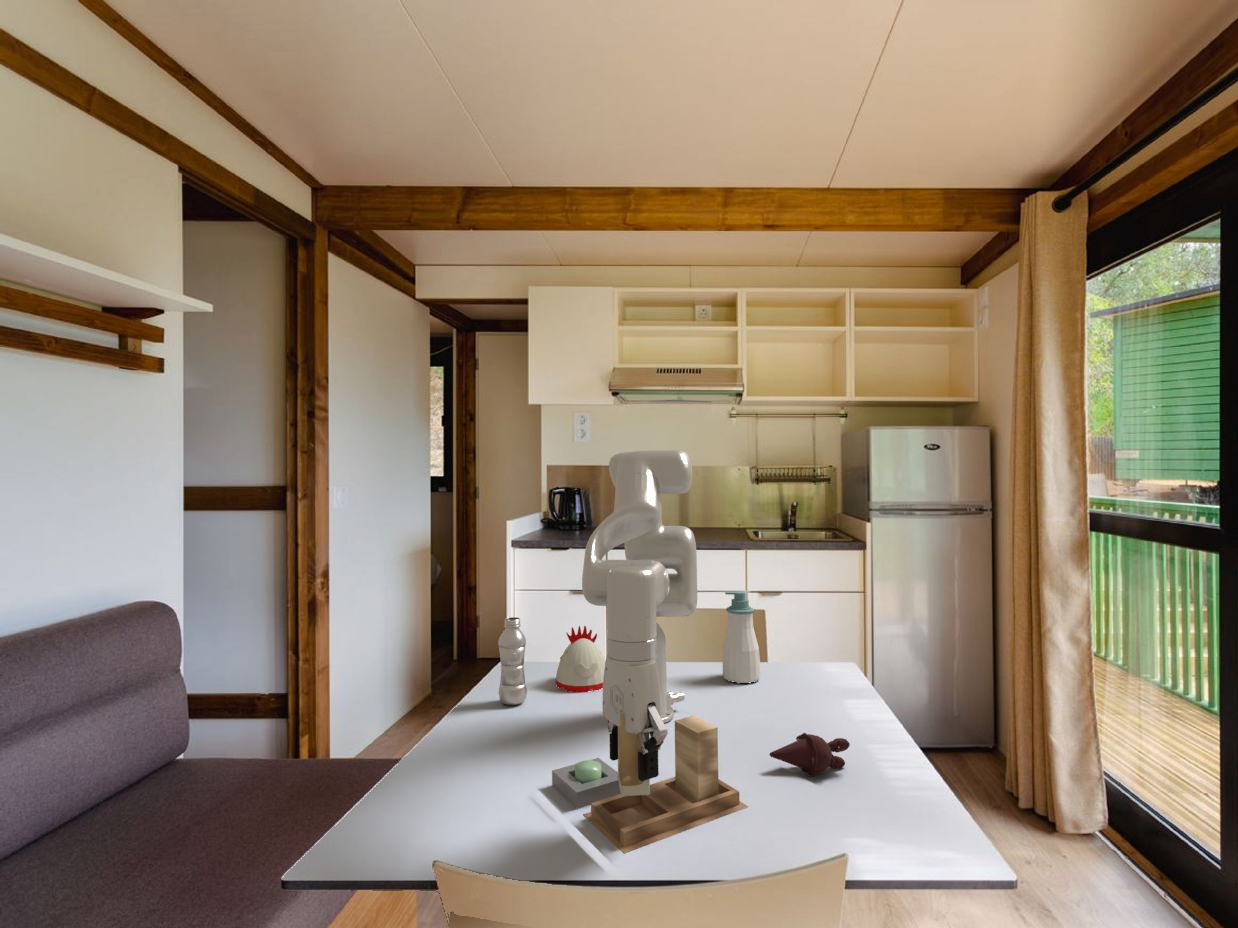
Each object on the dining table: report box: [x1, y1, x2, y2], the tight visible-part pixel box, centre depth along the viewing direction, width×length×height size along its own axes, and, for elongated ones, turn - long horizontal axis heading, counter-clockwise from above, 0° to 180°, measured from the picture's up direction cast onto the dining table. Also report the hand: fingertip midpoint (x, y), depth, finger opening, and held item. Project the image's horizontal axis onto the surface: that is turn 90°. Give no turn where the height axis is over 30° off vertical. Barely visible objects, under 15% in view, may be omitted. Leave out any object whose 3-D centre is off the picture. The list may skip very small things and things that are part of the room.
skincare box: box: [617, 711, 651, 796], centre depth 93 cm, size 6×4×12 cm
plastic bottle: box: [498, 616, 528, 706], centre depth 148 cm, size 6×7×20 cm
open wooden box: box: [582, 776, 749, 854], centre depth 96 cm, size 23×12×3 cm, turn 121°
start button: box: [575, 759, 601, 784], centre depth 103 cm, size 4×4×4 cm
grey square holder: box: [551, 757, 621, 810], centre depth 103 cm, size 9×9×4 cm
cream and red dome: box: [555, 625, 606, 693], centre depth 162 cm, size 14×14×15 cm
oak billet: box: [674, 715, 719, 804], centre depth 99 cm, size 4×6×12 cm, turn 32°
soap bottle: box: [722, 591, 761, 684], centre depth 165 cm, size 10×10×23 cm
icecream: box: [769, 732, 851, 777], centre depth 111 cm, size 7×7×15 cm
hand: (633, 766), depth 93 cm, fingers closed on skincare box, 7 cm apart
